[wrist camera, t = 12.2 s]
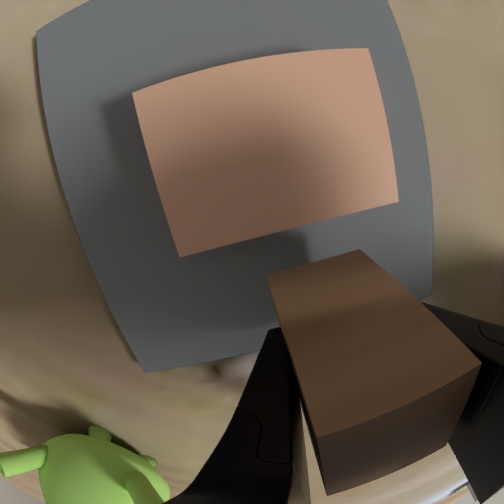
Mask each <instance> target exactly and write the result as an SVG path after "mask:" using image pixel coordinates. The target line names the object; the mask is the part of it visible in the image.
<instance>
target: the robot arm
mask: <svg viewBox="0 0 504 504" xmlns="http://www.w3.org/2000/svg"><path fill="white" fill-rule="evenodd" d="M421 303H422V302H421ZM422 304H423V305H424V306H425V307H426V308H427V309H428V310H429V311H430V312H432V313H433V314H434V315H435V316H436V317H437V318H438V319H439V320H440V321H441V322H442V323H443V324H444V325H445V326H446V327H447V328H448V329H449V330H450V331H451V332H452V333H453V334H454V335H455V336H456V337H457V338H458V339H459V340H460V341H461V342H462V343H463V344H464V345H465V346H466V347H467V348H468V349H469V350H470V351H471V352H472V353H473V354H474V355H475V356H476V357H477V358H478V359H479V360H480V361H481V362H482V364H481V367H480V370H479V372H478V375H477V378H476V381H475V383H474V386H473V388H472V391H471V393H470V396H469V398H468V400H467V403H466V405H465V407H464V410H463V412H462V414H461V416H460V418H459V420H458V422H457V424H456V426H455V428H454V430H453V432H452V434H451V436H450V438H449V440H448V443H449V445H450V447H451V449H452V450H453V452H454V454H455V455H456V458H457V460H458V462H459V464H460V466H461V467H462V469H463V471H464V473H465V475H466V477H467V479H468V481H469V483H470V485H471V487H472V489H473V491H474V493H475V495H476V497H477V499H478V501H479V503H480V504H482V503H483V502H485V501H486V500H488V499H489V498H490V497H492V496H493V495H494V494H496V493H497V492H498V491H499V490H501V489H502V488H503V487H504V326H500V325H496V324H493V323H489V322H486V321H482V320H479V319H477V320H476V319H475V318H472V317H469V316H466V315H462V314H459V313H456V312H452V311H449V310H446V309H442V308H439V307H436V306H432V305H429V304H426V303H422ZM162 504H311V499H310V489H309V478H308V468H307V459H306V449H305V440H304V431H303V423H302V414H301V406H300V398H299V393H298V389H297V385H296V380H295V376H294V372H293V367H292V363H291V359H290V355H289V351H288V348H287V345H286V342H285V338H284V335H283V332H282V329H281V327H277V328H273V329H269V330H268V332H267V334H266V337H265V340H264V342H263V345H262V347H261V350H260V352H259V355H258V357H257V360H256V362H255V365H254V367H253V369H252V372H251V374H250V377H249V379H248V382H247V384H246V386H245V389H244V391H243V394H242V396H241V398H240V401H239V403H238V406H237V407H236V410H235V412H234V414H233V417H232V419H231V421H230V423H229V425H228V427H227V429H226V431H225V433H224V434H223V436H222V438H221V440H220V441H219V443H218V445H217V446H216V448H215V449H214V451H213V452H212V454H211V455H210V457H209V458H208V460H207V461H206V463H205V464H204V466H203V467H202V469H201V470H200V472H199V473H198V475H197V476H196V478H195V479H194V481H193V482H192V483H191V484H190V485H189V486H188V487H187V488H186V489H185V490H184V491H183V492H182V493H180V494H179V495H177V496H175V497H173V498H172V499H170V500H168V501H166V502H164V503H162Z"/></svg>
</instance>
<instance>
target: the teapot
mask: <svg viewBox="0 0 504 504" xmlns="http://www.w3.org/2000/svg"><path fill="white" fill-rule="evenodd" d="M111 437H112V436H111V434H110V433H109V432H108V431H107V430H105V429H103V428H101V427H98V426H89V436H87V435H82V434H65V435H60V436H57V437H54V438H51V439H48V440H47V441H46V442H45V443H44V444H43V445H41V446H36V447H31V448H26V449H20V450H15V451H8V452H2V453H0V472H1V473H2V475H3V476H4V477H9V476H13V475H16V474H20V473H24V472H28V471H31V470H35V469H38V472H39V480H40V485H41V489H42V492H43V495H44V498H45V501H46V504H162V503H164V502H166V501H168V500H169V497H170V490H169V487H168V484H167V483H166V481H165V480H164V479H163V477H162V476H161V475H160V473H159V472H158V471H157V470H156V469H155V468H154V467H155V466H156V465H157V464H158V461H157V460H156V459H154V458H152V457H150V456H146V455H137V454H135V453H133V452H131V451H129V450H127V449H125V448H123V447H120V446H118V445H116V444H113V443H111Z"/></svg>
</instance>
